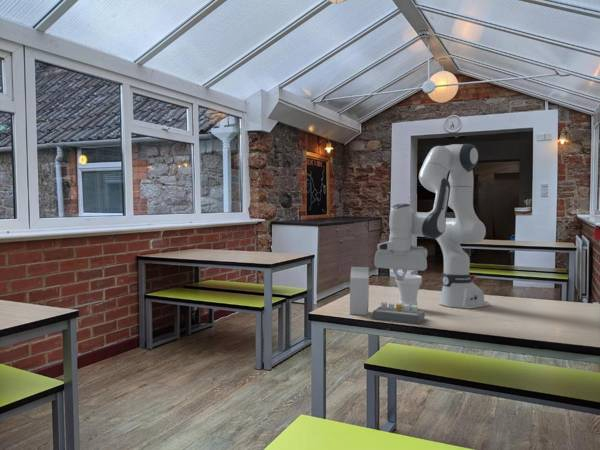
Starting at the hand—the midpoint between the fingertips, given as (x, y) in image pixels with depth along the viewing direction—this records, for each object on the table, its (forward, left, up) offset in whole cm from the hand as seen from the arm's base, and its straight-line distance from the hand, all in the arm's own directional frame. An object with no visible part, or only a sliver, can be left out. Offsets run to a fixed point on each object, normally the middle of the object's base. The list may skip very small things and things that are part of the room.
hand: (400, 280), depth 191 cm
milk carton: (+10, -14, -15) cm, 23 cm away
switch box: (0, 0, -15) cm, 15 cm away
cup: (-14, -14, -15) cm, 25 cm away
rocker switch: (0, 0, -12) cm, 12 cm away
